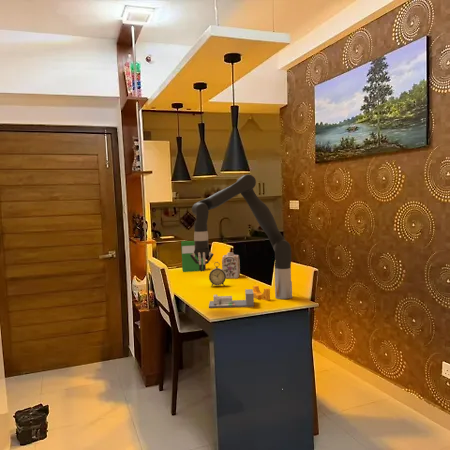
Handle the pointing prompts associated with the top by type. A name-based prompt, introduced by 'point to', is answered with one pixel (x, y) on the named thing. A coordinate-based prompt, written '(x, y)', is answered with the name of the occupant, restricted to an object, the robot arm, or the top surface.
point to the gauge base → (237, 301)
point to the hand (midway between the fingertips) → (202, 271)
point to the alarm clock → (217, 276)
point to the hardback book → (189, 257)
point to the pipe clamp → (259, 295)
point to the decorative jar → (231, 265)
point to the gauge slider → (222, 299)
